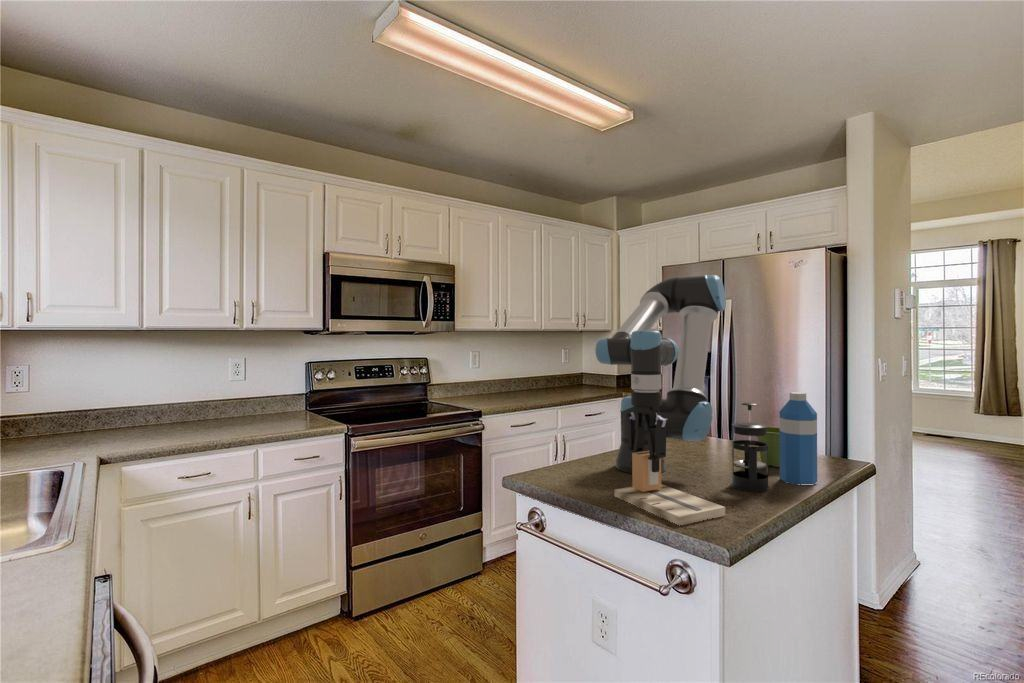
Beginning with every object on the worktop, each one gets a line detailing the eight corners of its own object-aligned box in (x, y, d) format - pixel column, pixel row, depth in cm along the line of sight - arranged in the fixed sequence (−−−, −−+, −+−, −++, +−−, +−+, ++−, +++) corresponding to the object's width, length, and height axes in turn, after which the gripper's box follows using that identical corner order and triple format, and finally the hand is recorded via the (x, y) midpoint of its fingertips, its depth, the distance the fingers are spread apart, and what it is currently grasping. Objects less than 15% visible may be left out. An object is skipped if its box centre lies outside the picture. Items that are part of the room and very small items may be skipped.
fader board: (614, 497, 134) (614, 489, 134) (656, 489, 140) (656, 482, 140) (679, 525, 113) (679, 516, 113) (725, 515, 120) (725, 506, 120)
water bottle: (772, 478, 150) (771, 392, 150) (796, 475, 153) (795, 390, 153) (800, 487, 141) (800, 395, 141) (825, 483, 145) (824, 393, 144)
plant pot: (780, 471, 158) (779, 434, 158) (745, 463, 169) (745, 428, 169) (803, 466, 164) (803, 430, 164) (769, 458, 175) (768, 425, 174)
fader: (632, 487, 134) (632, 452, 134) (650, 484, 136) (650, 449, 136) (642, 491, 130) (642, 455, 130) (661, 488, 133) (661, 452, 133)
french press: (729, 480, 149) (729, 400, 149) (765, 483, 146) (765, 401, 146) (733, 492, 138) (733, 405, 137) (773, 495, 135) (772, 406, 135)
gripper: (613, 388, 139) (614, 476, 139) (657, 394, 124) (658, 492, 124) (636, 387, 142) (636, 472, 143) (681, 393, 127) (682, 488, 127)
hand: (646, 481), depth 133 cm, fingers closed on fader, 4 cm apart
